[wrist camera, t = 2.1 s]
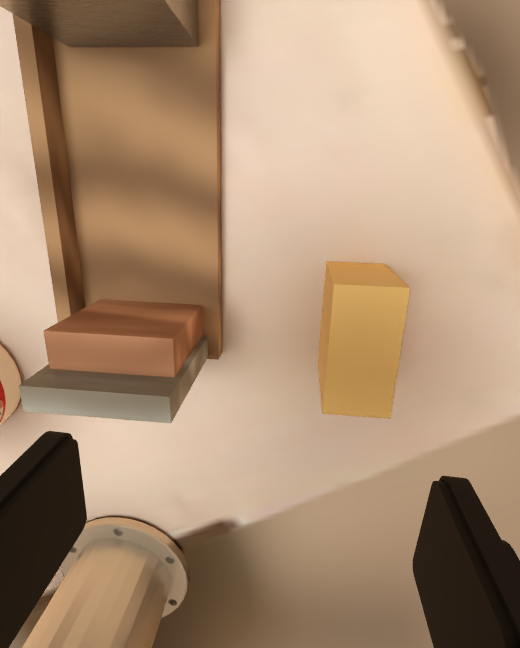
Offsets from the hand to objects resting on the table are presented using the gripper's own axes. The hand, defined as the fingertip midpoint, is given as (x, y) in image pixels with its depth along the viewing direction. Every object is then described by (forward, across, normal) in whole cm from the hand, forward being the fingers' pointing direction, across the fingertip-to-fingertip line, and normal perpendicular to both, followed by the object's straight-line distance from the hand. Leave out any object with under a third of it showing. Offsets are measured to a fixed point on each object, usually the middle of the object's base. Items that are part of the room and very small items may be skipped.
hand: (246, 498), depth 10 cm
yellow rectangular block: (+20, -5, +1) cm, 21 cm away
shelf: (+20, +10, -7) cm, 23 cm away
